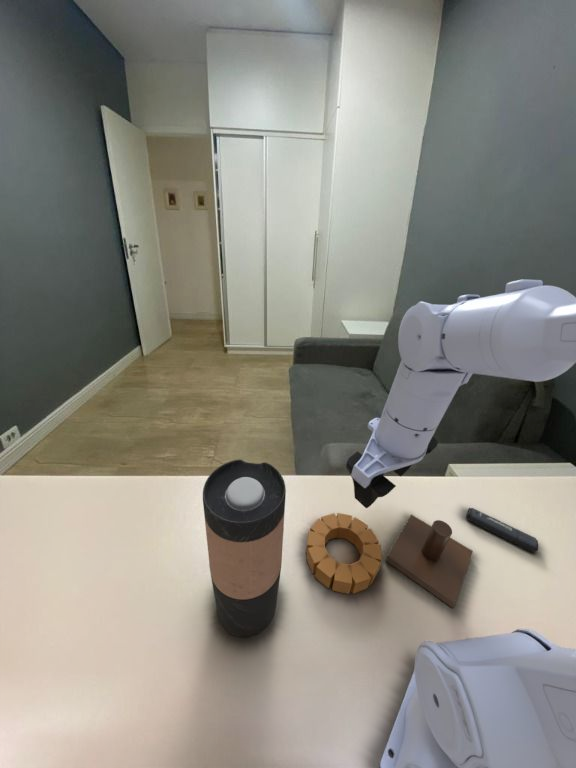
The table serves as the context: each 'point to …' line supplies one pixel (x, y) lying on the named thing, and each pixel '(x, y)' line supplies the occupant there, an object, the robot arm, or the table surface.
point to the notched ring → (340, 573)
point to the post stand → (431, 558)
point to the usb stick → (502, 529)
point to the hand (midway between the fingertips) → (379, 485)
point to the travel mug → (245, 542)
